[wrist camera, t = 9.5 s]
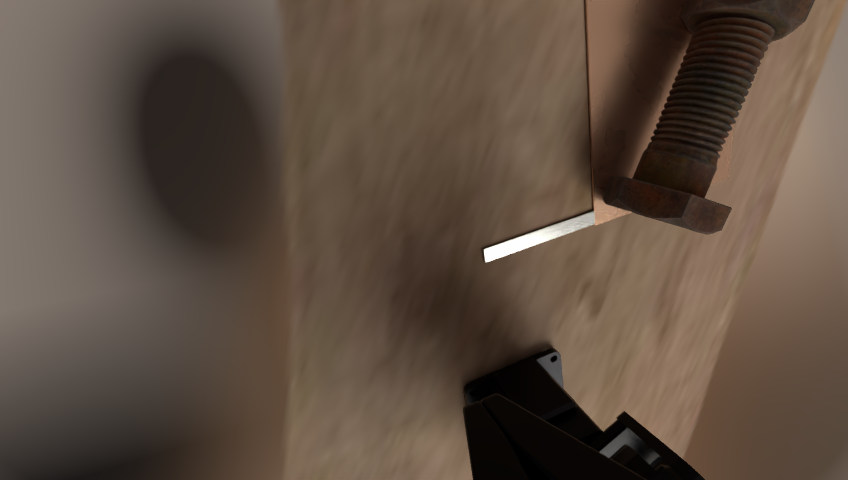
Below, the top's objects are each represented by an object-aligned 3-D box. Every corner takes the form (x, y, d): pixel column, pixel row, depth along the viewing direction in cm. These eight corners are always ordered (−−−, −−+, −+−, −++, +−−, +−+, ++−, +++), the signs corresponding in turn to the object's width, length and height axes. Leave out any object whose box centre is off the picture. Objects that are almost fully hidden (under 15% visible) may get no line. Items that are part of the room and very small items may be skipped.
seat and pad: (727, 177, 26) (728, 178, 26) (485, 263, 22) (486, 264, 22) (768, -232, 18) (771, -234, 18) (409, -202, 15) (410, -203, 15)
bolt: (716, -63, 22) (611, 205, 25) (709, -130, 18) (585, 198, 21) (864, -73, 19) (720, 239, 22) (895, -158, 15) (714, 237, 18)
